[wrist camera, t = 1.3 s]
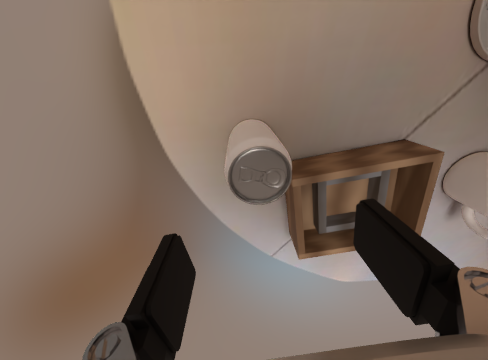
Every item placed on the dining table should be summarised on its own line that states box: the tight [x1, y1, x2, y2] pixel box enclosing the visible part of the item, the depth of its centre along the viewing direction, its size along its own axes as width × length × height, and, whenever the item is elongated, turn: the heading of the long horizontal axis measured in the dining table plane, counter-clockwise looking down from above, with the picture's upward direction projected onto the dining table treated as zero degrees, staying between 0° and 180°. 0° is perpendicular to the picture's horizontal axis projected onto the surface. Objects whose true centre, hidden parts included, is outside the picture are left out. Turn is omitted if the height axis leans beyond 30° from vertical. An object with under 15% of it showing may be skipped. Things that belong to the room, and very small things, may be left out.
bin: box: [285, 140, 444, 259], centre depth 29 cm, size 18×14×6 cm
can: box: [224, 119, 292, 205], centre depth 22 cm, size 6×6×12 cm
